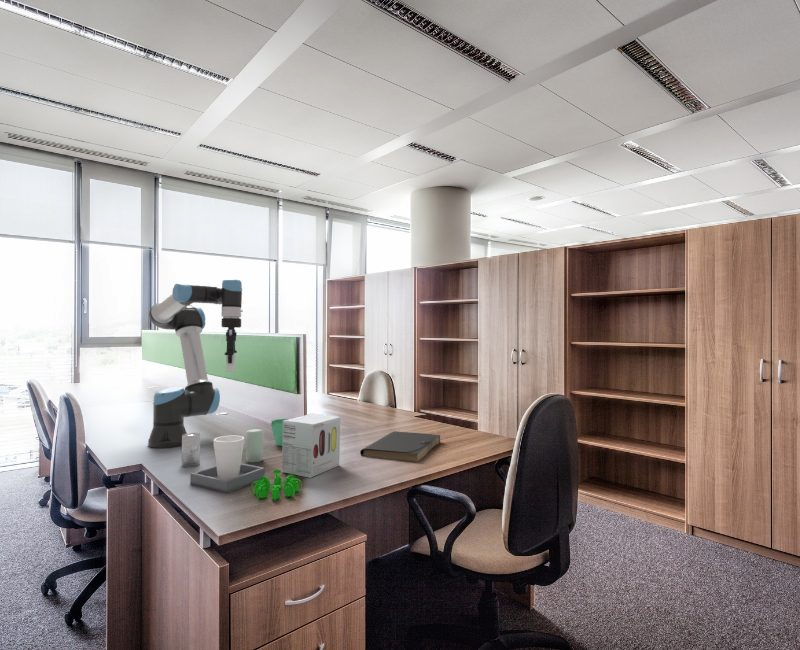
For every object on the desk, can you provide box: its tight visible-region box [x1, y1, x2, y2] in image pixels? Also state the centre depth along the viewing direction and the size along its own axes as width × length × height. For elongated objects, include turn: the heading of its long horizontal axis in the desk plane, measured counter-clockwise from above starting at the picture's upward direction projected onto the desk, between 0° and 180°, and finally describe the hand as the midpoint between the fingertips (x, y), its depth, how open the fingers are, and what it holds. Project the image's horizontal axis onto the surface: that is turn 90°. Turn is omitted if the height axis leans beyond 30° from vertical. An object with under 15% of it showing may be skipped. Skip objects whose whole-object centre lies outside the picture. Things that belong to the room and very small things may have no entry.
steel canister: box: [181, 432, 201, 468], centre depth 166 cm, size 6×6×11 cm
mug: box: [270, 418, 289, 447], centre depth 197 cm, size 15×10×10 cm
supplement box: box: [281, 413, 341, 479], centre depth 163 cm, size 17×13×18 cm
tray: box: [189, 462, 266, 494], centre depth 149 cm, size 16×16×4 cm
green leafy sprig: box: [250, 469, 303, 502], centre depth 139 cm, size 15×15×7 cm
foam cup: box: [213, 434, 245, 480], centre depth 149 cm, size 10×9×13 cm
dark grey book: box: [359, 431, 441, 463], centre depth 192 cm, size 33×4×24 cm
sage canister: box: [245, 428, 264, 463], centre depth 173 cm, size 6×6×11 cm
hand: (230, 370), depth 185 cm, fingers open, 13 cm apart
